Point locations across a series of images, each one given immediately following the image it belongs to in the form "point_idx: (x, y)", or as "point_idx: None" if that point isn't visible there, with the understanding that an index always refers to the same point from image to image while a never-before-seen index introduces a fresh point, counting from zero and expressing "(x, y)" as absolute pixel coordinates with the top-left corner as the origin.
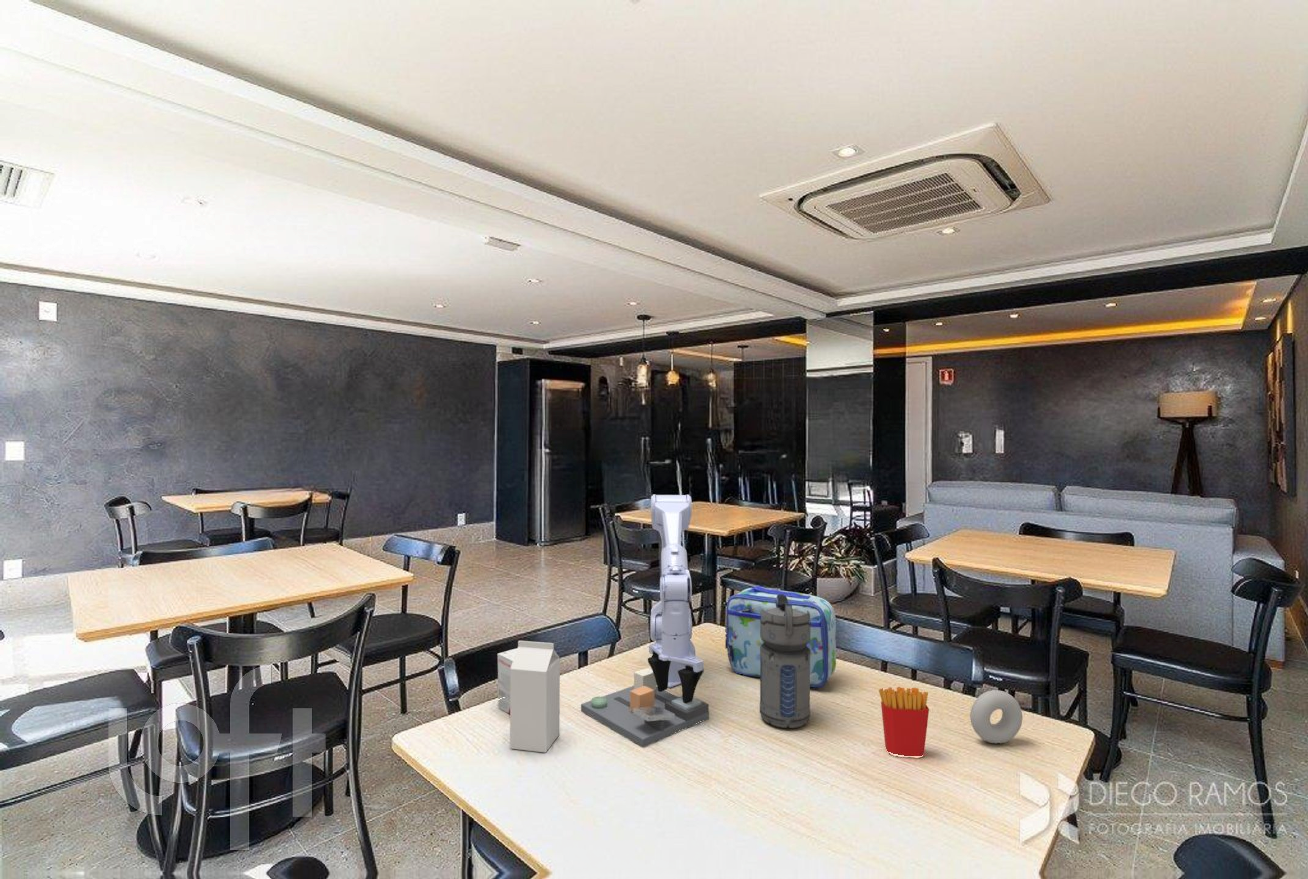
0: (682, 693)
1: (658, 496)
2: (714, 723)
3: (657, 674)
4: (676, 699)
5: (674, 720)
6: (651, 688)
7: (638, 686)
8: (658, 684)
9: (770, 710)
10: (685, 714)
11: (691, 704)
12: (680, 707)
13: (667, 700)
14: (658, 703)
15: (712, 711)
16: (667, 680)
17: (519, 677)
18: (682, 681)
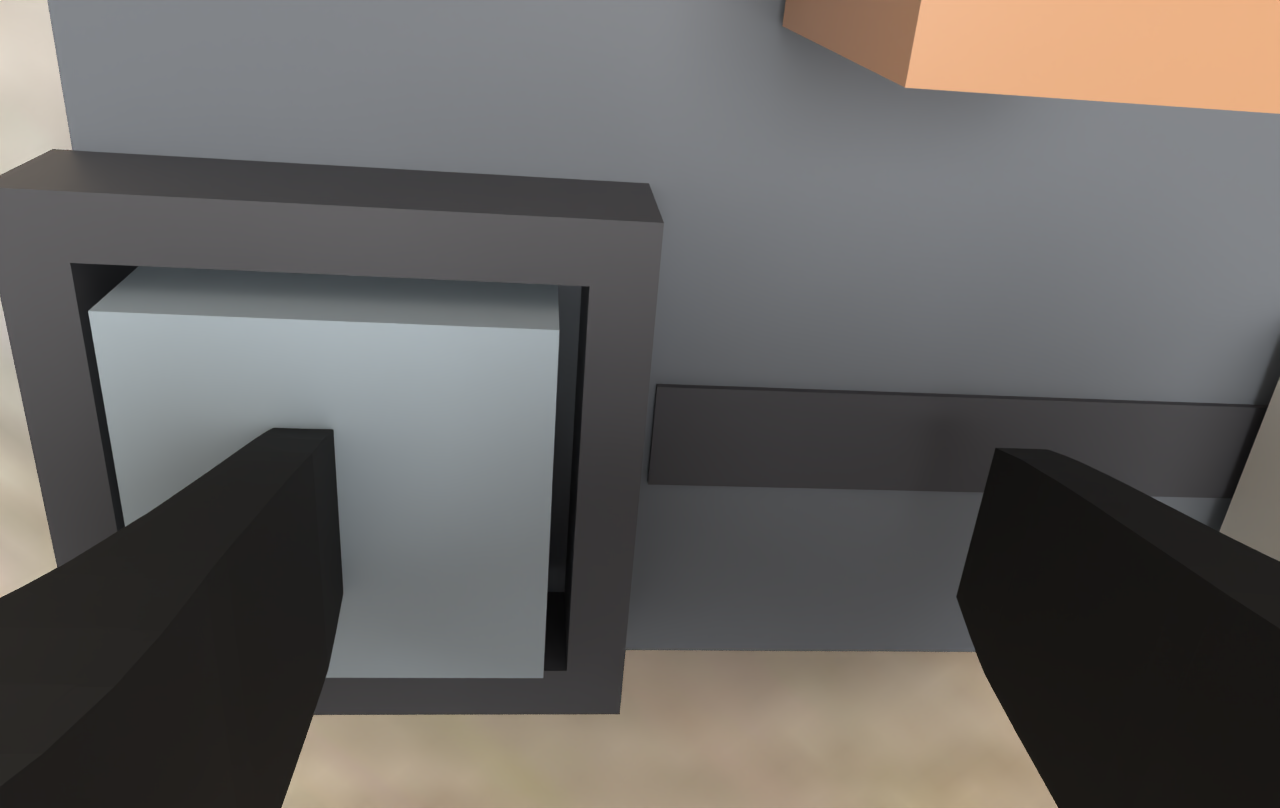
0: (255, 498)
1: None
2: (22, 534)
3: (1252, 624)
4: (528, 432)
5: (218, 6)
6: (1265, 519)
7: None
8: (1088, 495)
9: None
10: (32, 180)
11: (162, 480)
12: (297, 300)
13: (851, 465)
14: (906, 299)
15: (320, 728)
16: (1024, 722)
17: None
18: (4, 678)
